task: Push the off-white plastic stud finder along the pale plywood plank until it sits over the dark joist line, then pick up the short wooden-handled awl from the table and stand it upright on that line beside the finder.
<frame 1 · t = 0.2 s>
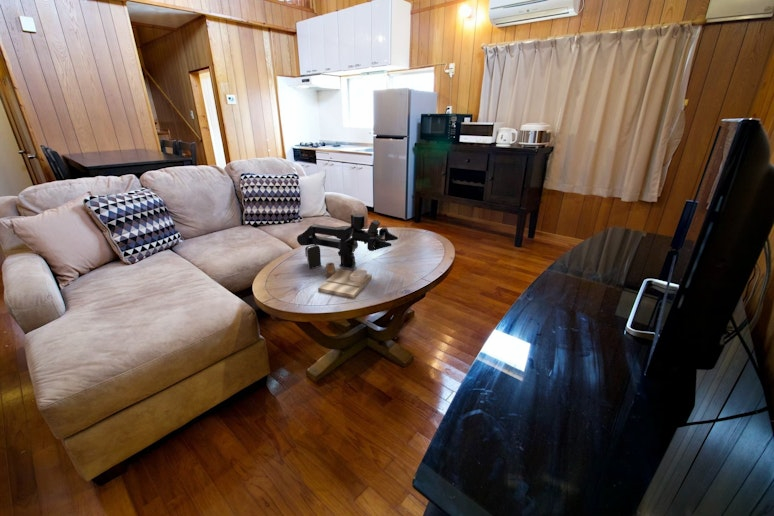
hand: (394, 241, 155), 16 cm above the table, tool horizontal, fingers open, 9 cm apart
battery charger: (313, 266, 167), on the table
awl: (330, 275, 158), on the table
plank: (345, 283, 150), on the table
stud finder: (358, 275, 152), point 3 cm above the table, slide at 0.0 cm
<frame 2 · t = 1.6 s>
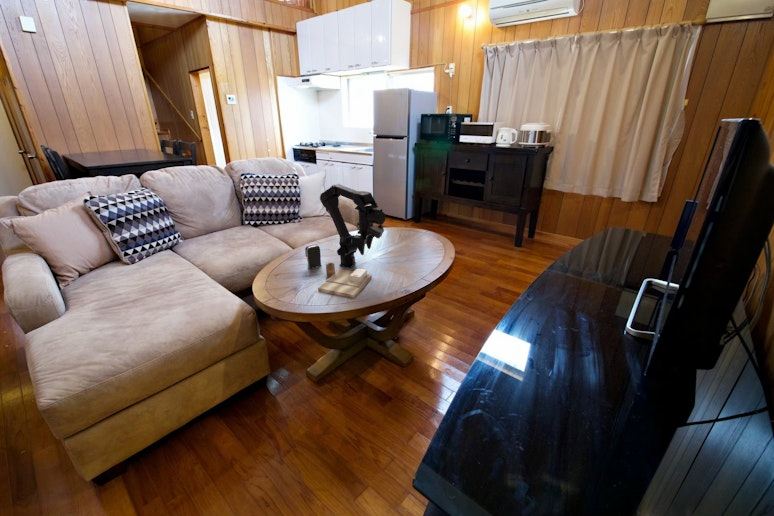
hand: (365, 251, 157), 11 cm above the table, tool pointing down, fingers open, 8 cm apart
nothing on the table moved.
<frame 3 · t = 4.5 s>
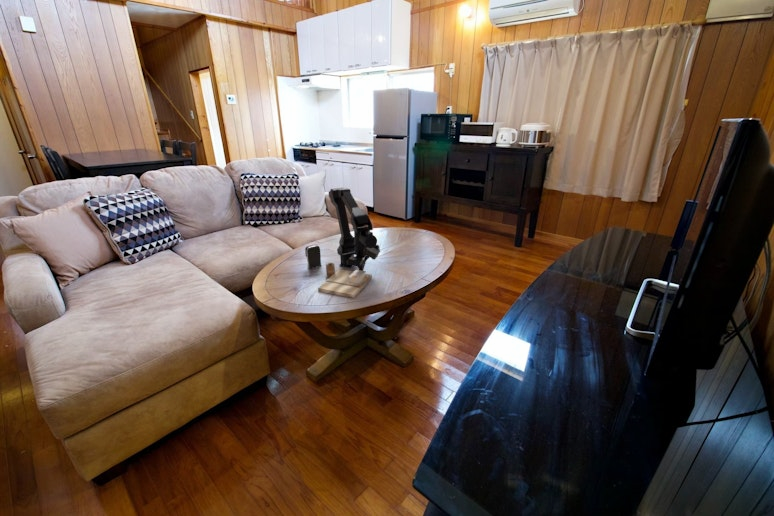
hand: (361, 271, 155), 3 cm above the table, tool pointing down, fingers closed
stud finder: (357, 276, 151), point 3 cm above the table, slide at 1.3 cm, touching gripper
everything else where it was.
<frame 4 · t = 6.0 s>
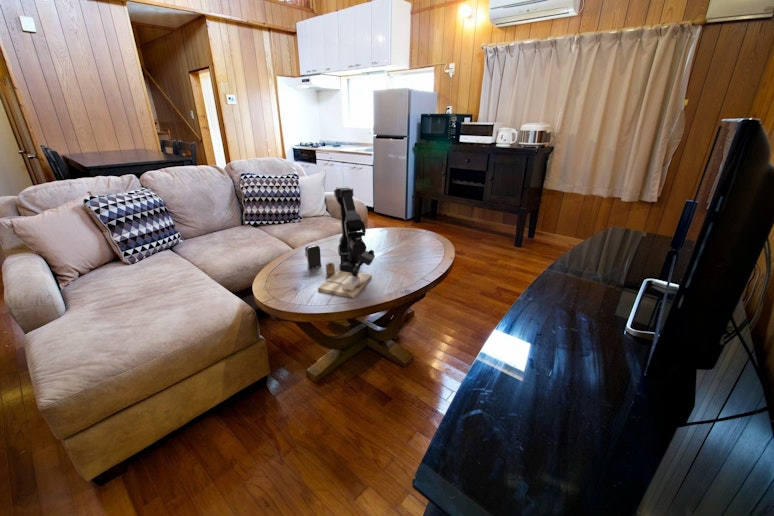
hand: (355, 277, 150), 3 cm above the table, tool pointing down, fingers closed
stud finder: (350, 282, 145), point 3 cm above the table, slide at 7.9 cm, touching gripper
everything else where it was.
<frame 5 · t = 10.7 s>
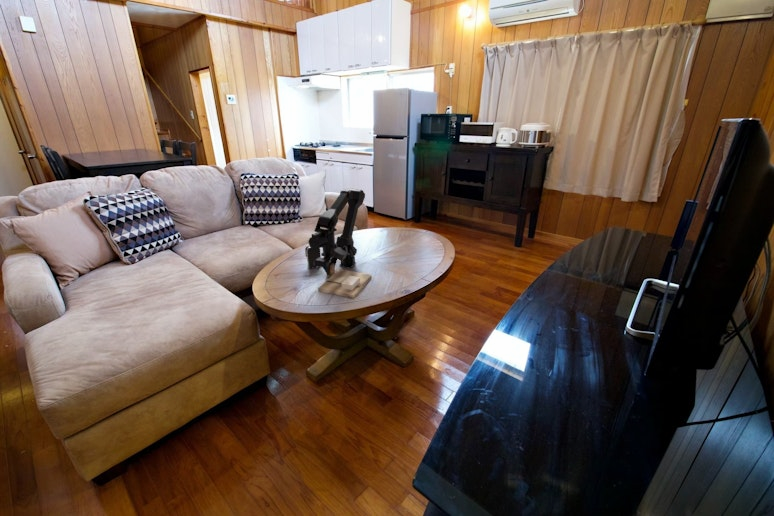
hand: (330, 272, 157), 2 cm above the table, tool pointing down, fingers closed on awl, 4 cm apart
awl: (330, 275, 158), on the table, touching gripper
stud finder: (350, 282, 145), point 3 cm above the table, slide at 7.9 cm
everything else where it was.
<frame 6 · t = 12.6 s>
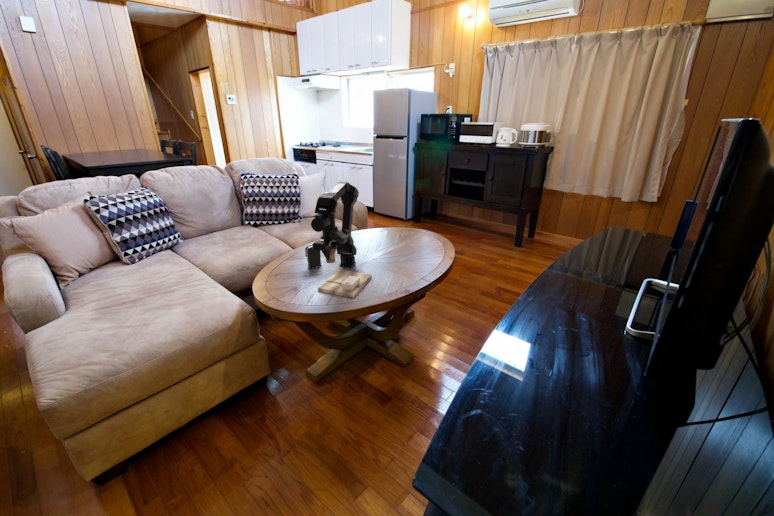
hand: (330, 258, 148), 12 cm above the table, tool pointing down, fingers closed on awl, 4 cm apart
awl: (330, 261, 148), point 10 cm above the table, touching gripper
everything else where it was.
when the fingers open (4 cm above the table, at t = 14.5 s): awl drops 1 cm, resting on plank.
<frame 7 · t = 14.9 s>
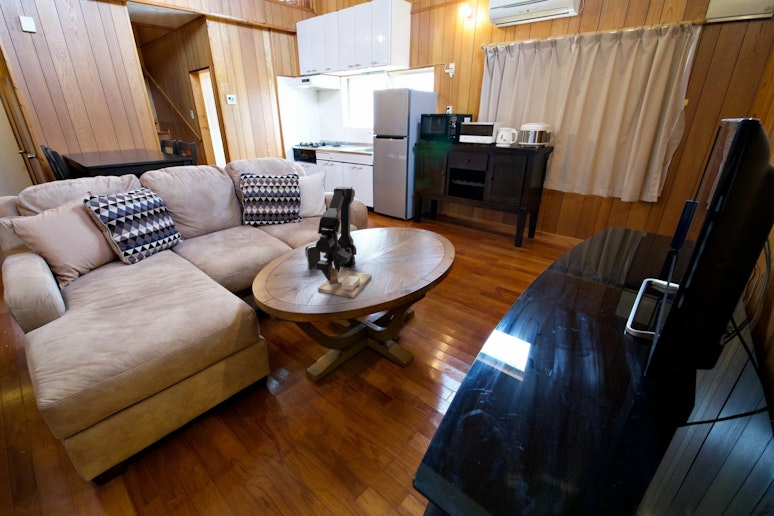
hand: (333, 276, 147), 4 cm above the table, tool pointing down, fingers open, 8 cm apart
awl: (333, 282, 148), point 2 cm above the table, touching plank
everything else where it was.
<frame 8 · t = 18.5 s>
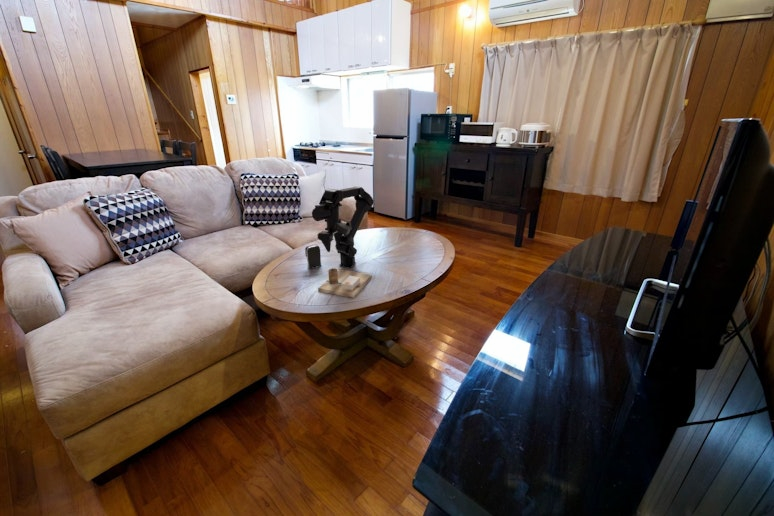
hand: (333, 248, 157), 12 cm above the table, tool pointing down, fingers open, 9 cm apart
nothing on the table moved.
at the end: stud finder slide at 7.9 cm; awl 0.1 cm from the target spot, point 1.5 cm above the table; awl tilted 0° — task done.
